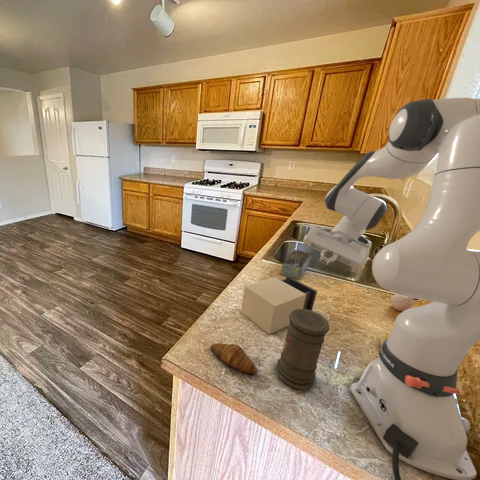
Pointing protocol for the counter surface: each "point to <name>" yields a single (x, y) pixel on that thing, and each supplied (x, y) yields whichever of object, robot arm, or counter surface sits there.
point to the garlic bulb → (401, 302)
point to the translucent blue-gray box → (296, 264)
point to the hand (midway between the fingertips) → (323, 261)
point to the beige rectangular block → (271, 303)
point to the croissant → (234, 357)
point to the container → (302, 348)
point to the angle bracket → (305, 289)
